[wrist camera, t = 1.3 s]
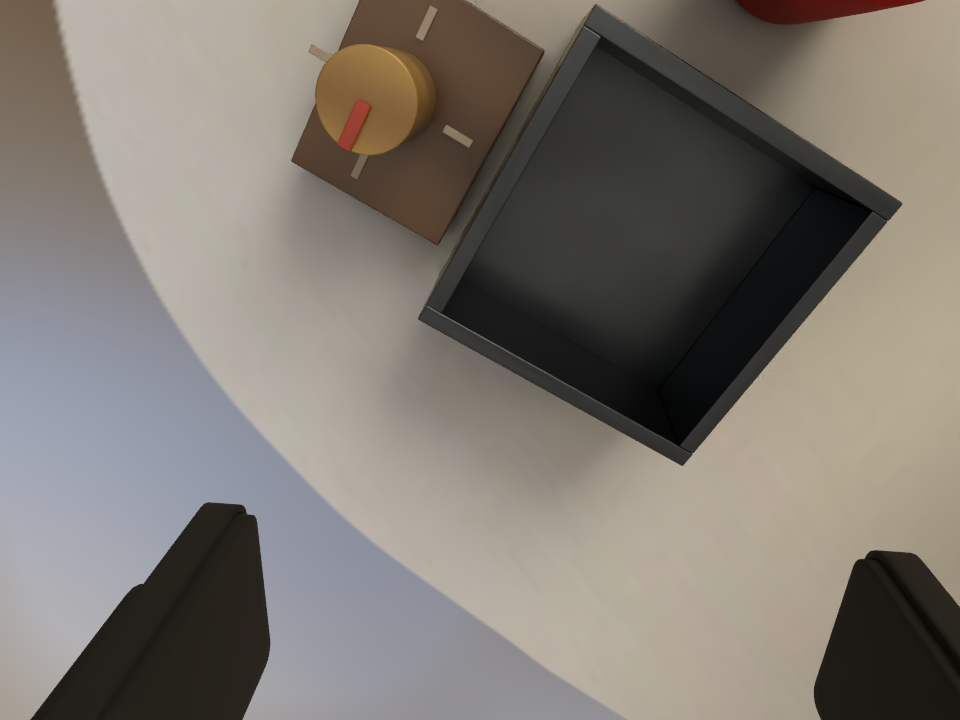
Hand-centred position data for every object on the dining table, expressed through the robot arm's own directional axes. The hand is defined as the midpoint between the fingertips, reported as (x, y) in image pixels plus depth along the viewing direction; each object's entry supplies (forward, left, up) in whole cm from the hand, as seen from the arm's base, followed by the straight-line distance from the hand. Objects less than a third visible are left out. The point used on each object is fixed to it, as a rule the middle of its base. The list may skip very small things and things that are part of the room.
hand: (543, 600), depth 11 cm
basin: (-2, +4, -26) cm, 27 cm away
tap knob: (-2, -9, -24) cm, 26 cm away
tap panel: (-2, -8, -26) cm, 28 cm away
